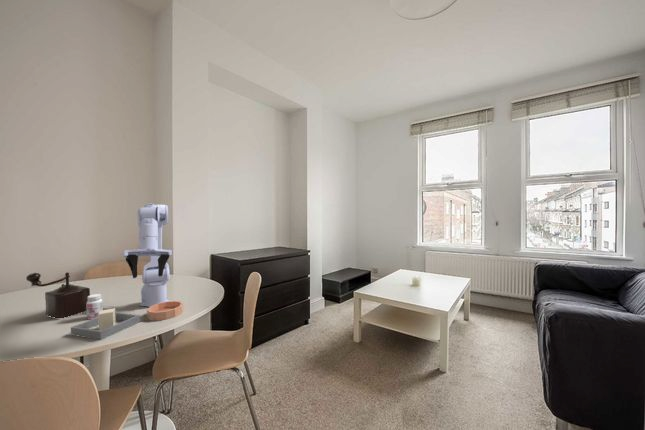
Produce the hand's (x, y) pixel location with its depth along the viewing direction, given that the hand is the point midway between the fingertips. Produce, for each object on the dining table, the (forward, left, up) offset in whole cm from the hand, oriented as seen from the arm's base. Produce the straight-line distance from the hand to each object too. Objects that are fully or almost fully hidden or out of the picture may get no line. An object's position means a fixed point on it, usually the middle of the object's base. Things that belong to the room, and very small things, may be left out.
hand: (148, 276), depth 91 cm
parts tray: (-16, -3, -18) cm, 24 cm away
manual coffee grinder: (-47, +1, -19) cm, 50 cm away
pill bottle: (-31, +3, -19) cm, 36 cm away
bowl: (-6, +12, -18) cm, 23 cm away
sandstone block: (-16, -3, -18) cm, 24 cm away
